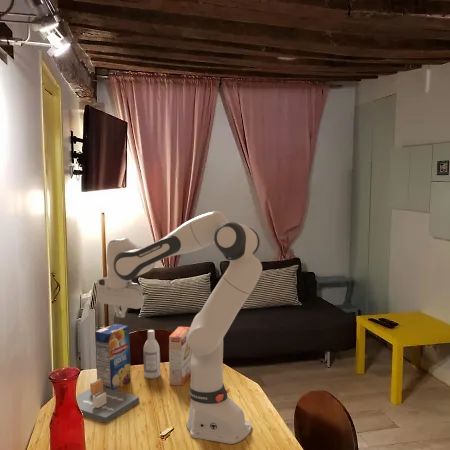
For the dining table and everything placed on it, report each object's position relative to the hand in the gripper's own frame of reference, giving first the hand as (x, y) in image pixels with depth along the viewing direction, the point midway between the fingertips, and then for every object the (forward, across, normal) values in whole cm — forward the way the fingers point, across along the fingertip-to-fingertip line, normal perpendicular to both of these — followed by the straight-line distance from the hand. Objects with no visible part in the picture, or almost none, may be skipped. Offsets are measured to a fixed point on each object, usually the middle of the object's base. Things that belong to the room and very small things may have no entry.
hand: (120, 317), depth 184 cm
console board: (+33, +5, +7) cm, 34 cm away
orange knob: (+31, +11, +3) cm, 33 cm away
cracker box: (+33, -8, -27) cm, 44 cm away
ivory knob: (+31, +2, +10) cm, 32 cm away
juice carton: (+33, +13, -9) cm, 37 cm away
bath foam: (+33, +5, -24) cm, 41 cm away
